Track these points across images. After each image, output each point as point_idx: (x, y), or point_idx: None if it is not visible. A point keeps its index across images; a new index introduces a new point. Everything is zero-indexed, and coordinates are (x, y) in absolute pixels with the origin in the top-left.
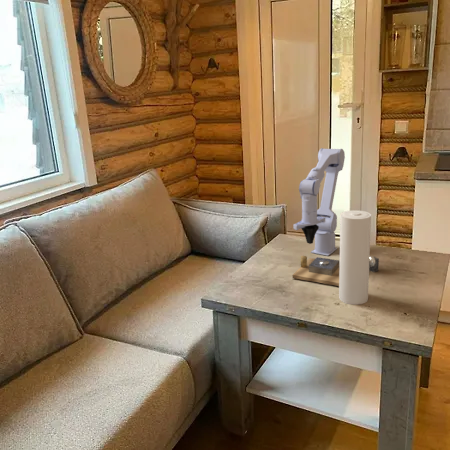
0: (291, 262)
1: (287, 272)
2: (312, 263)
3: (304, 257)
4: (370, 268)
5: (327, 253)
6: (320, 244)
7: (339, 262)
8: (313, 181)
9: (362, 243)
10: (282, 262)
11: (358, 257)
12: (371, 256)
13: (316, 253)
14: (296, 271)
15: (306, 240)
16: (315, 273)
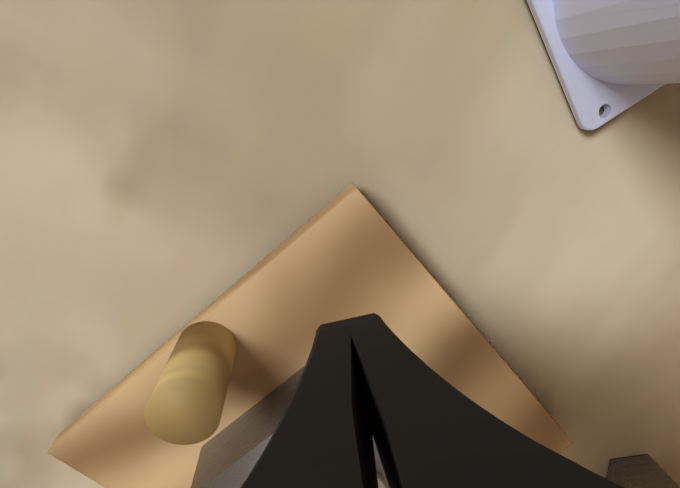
0: (176, 103)
1: (61, 302)
2: (241, 474)
3: (186, 429)
4: (619, 482)
5: (610, 95)
6: (645, 32)
7: (518, 379)
8: None
9: None
10: (75, 52)
11: None
12: None
13: (532, 14)
14: (103, 409)
15: (313, 344)
16: None
